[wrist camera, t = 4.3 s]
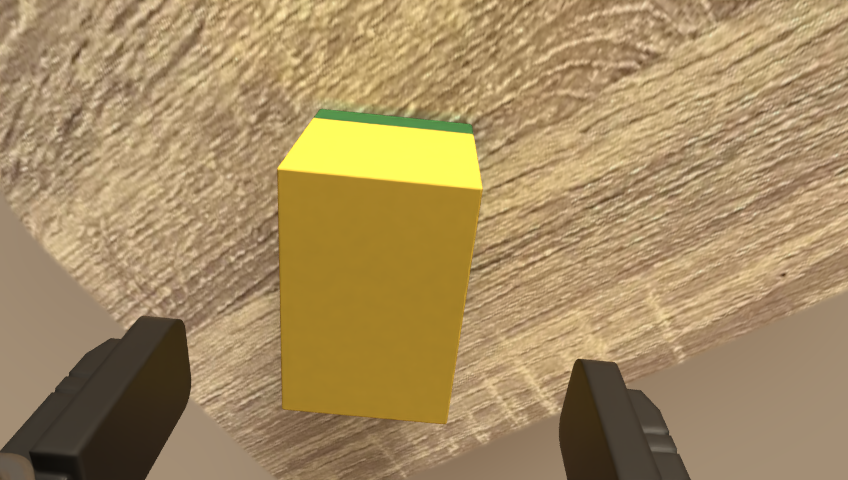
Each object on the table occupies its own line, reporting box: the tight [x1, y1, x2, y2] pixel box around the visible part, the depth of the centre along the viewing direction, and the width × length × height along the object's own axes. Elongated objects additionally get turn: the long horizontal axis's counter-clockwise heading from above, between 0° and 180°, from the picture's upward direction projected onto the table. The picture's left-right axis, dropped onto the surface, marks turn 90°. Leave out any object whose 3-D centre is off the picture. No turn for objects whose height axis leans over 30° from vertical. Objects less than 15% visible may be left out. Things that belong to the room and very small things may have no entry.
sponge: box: [277, 109, 483, 424], centre depth 17 cm, size 4×7×5 cm, turn 174°
